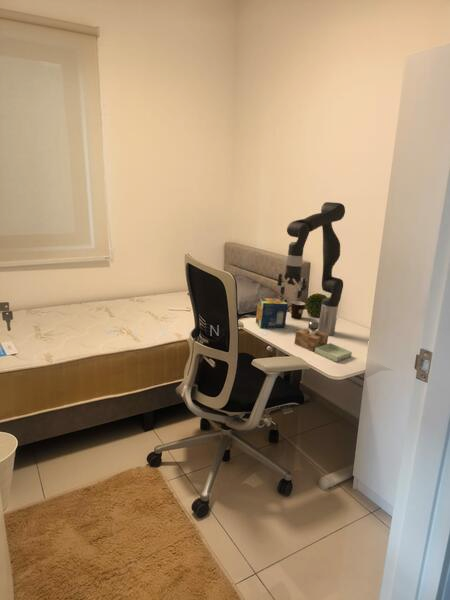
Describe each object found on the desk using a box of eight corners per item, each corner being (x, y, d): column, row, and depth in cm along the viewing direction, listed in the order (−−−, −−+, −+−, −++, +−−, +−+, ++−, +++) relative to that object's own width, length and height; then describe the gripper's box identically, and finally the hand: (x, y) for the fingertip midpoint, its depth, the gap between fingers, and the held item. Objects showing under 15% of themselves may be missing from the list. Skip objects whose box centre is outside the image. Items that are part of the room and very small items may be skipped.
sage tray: (329, 347, 205) (330, 343, 204) (351, 356, 196) (352, 351, 195) (314, 353, 197) (315, 347, 196) (336, 362, 187) (337, 357, 186)
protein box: (255, 322, 236) (257, 297, 231) (279, 322, 239) (282, 298, 235) (260, 328, 226) (262, 302, 222) (285, 328, 229) (288, 303, 225)
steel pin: (309, 343, 209) (312, 320, 206) (317, 346, 206) (320, 323, 202) (303, 344, 206) (307, 321, 203) (311, 348, 203) (314, 324, 199)
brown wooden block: (308, 339, 214) (310, 327, 212) (326, 347, 206) (328, 334, 204) (294, 343, 206) (296, 331, 205) (312, 351, 198) (314, 339, 196)
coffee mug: (301, 316, 256) (303, 301, 253) (304, 320, 247) (306, 305, 245) (283, 314, 255) (285, 300, 252) (286, 319, 247) (288, 304, 244)
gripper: (310, 265, 188) (306, 297, 193) (283, 260, 195) (280, 291, 200) (305, 267, 182) (301, 300, 187) (277, 262, 189) (274, 294, 193)
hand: (290, 296), depth 193 cm, fingers open, 8 cm apart
